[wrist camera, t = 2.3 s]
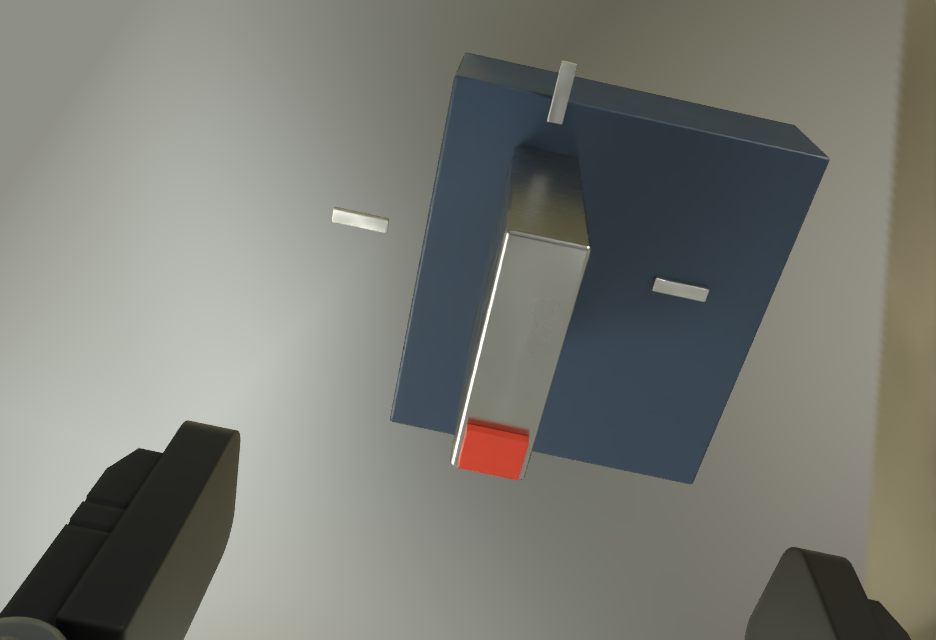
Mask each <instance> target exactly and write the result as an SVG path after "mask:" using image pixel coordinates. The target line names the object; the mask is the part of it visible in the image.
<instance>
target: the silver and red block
mask: <svg viewBox="0 0 936 640" xmlns="http://www.w3.org/2000/svg"><path fill="white" fill-rule="evenodd" d="M590 254H591V244H590V237H589V230H588V223H587V215H586V208H585V201H584V194H583V187H582V180H581V172H580V165H579V160H578V159H577V158H573V157H569V156H564V155H560V154H555V153H550V152H546V151H541V150H537V149H532V148H528V147H523V146H519V145H518V146H515V147H514V148H513V152H512V157H511V161H510V165H509V170H508V174H507V178H506V183H505V187H504V191H503V196H502V200H501V204H500V209H499V213H498V217H497V222H496V226H495V230H494V234H493V239H492V243H491V247H490V252H489V256H488V260H487V265H486V269H485V273H484V278H483V282H482V286H481V291H480V295H479V299H478V304H477V308H476V312H475V316H474V321H473V325H472V329H471V334H470V338H469V344H468V351H467V357H466V364H465V370H464V377H463V383H462V390H461V396H460V403H459V409H458V416H457V422H456V428H455V435H454V442H453V448H452V454H451V464H452V465H453V466H455V467H458V468H461V469H466V470H470V471H475V472H480V473H485V474H489V475H495V476H499V477H504V478H509V479H514V480H522V479H523V477H524V476H525V473H526V469H527V466H528V463H529V459H530V456H531V453H532V449H533V446H534V443H535V439H536V436H537V432H538V429H539V426H540V422H541V419H542V416H543V412H544V409H545V405H546V402H547V399H548V395H549V392H550V389H551V385H552V382H553V378H554V375H555V372H556V368H557V365H558V362H559V358H560V355H561V351H562V348H563V345H564V341H565V338H566V335H567V331H568V328H569V324H570V321H571V318H572V314H573V311H574V308H575V304H576V301H577V297H578V294H579V291H580V287H581V284H582V281H583V277H584V274H585V270H586V267H587V264H588V260H589V257H590Z"/></svg>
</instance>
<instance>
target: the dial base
mask: <svg viewBox="0 0 936 640" xmlns="http://www.w3.org/2000/svg"><path fill="white" fill-rule="evenodd" d="M576 68H577V63H573V62H569V61H565V60H562V62H561V65H560V69H559V73H557V72H552V71H547V70H543V69H538V68H534V67H529V66H525V65H520V64H515V63H511V62H507V61H502V60H498V59H493V58H489V57H484V56H480V55H475V54H471V53H465V55H464V57H463V59H462V61H461V64H460V66H459V68H458V70H457V73H456V75H455V77H454V82H453V87H452V92H451V98H450V103H449V108H448V114H447V119H446V124H445V130H444V135H443V140H442V145H441V151H440V157H439V161H438V167H437V172H436V177H435V183H434V188H433V193H432V199H431V204H430V209H429V215H428V220H427V225H426V230H425V236H424V241H423V246H422V252H421V257H420V262H419V268H418V273H417V278H416V284H415V289H414V294H413V299H412V305H411V310H410V315H409V321H408V326H407V332H406V337H405V342H404V347H403V354H402V358H401V363H400V368H399V375H398V379H397V384H396V390H395V395H394V400H393V406H392V411H391V416H390V420H391V421H392V422H397V423H401V424H406V425H411V426H415V427H420V428H425V429H429V430H434V431H439V432H444V433H448V434H453V435H455V428H456V422H457V416H458V409H459V403H460V396H461V390H462V383H463V377H464V370H465V364H466V357H467V351H468V344H469V338H470V334H471V329H472V325H473V321H474V316H475V312H476V308H477V304H478V299H479V295H480V291H481V286H482V282H483V278H484V273H485V269H486V265H487V260H488V256H489V252H490V247H491V243H492V239H493V234H494V230H495V226H496V222H497V217H498V213H499V209H500V204H501V200H502V196H503V191H504V187H505V183H506V178H507V174H508V170H509V165H510V161H511V157H512V152H513V148H514V147H515V146H518V145H519V146H523V147H528V148H532V149H537V150H541V151H546V152H550V153H555V154H560V155H564V156H569V157H573V158H577V159H578V160H579V165H580V172H581V180H582V187H583V194H584V201H585V208H586V215H587V223H588V230H589V237H590V244H591V254H590V257H589V260H588V264H587V267H586V270H585V274H584V277H583V281H582V284H581V287H580V291H579V294H578V297H577V301H576V304H575V308H574V311H573V314H572V318H571V321H570V324H569V328H568V331H567V335H566V338H565V341H564V345H563V348H562V351H561V355H560V358H559V362H558V365H557V368H556V372H555V375H554V378H553V382H552V385H551V389H550V392H549V395H548V399H547V402H546V405H545V409H544V412H543V416H542V419H541V422H540V426H539V429H538V432H537V436H536V439H535V443H534V446H533V449H532V451H535V452H539V453H544V454H549V455H554V456H558V457H563V458H568V459H572V460H577V461H582V462H587V463H591V464H597V465H602V466H606V467H611V468H615V469H620V470H625V471H630V472H634V473H639V474H644V475H649V476H654V477H658V478H663V479H668V480H673V481H677V482H682V483H687V484H692V483H693V481H694V479H695V477H696V474H697V472H698V469H699V467H700V465H701V462H702V460H703V458H704V455H705V453H706V451H707V448H708V446H709V443H710V441H711V439H712V436H713V434H714V432H715V429H716V427H717V425H718V422H719V420H720V417H721V415H722V413H723V410H724V408H725V406H726V403H727V401H728V399H729V396H730V394H731V392H732V389H733V387H734V384H735V382H736V380H737V377H738V375H739V372H740V370H741V368H742V365H743V363H744V361H745V358H746V356H747V354H748V351H749V349H750V347H751V344H752V342H753V340H754V337H755V335H756V332H757V330H758V328H759V325H760V323H761V321H762V318H763V316H764V313H765V311H766V309H767V307H768V304H769V302H770V299H771V297H772V295H773V292H774V290H775V287H776V285H777V283H778V281H779V278H780V276H781V273H782V271H783V269H784V266H785V264H786V262H787V259H788V257H789V255H790V252H791V250H792V247H793V245H794V243H795V240H796V238H797V235H798V233H799V231H800V229H801V226H802V224H803V221H804V219H805V217H806V214H807V212H808V210H809V207H810V205H811V202H812V200H813V198H814V195H815V193H816V191H817V188H818V186H819V184H820V181H821V179H822V176H823V174H824V171H825V169H826V167H827V165H828V162H829V158H828V157H827V156H826V155H825V154H824V153H823V152H822V151H821V150H820V149H819V148H818V147H817V146H816V145H815V144H814V143H812V141H811V140H810V139H809V138H808V137H806V136H805V135H804V134H803V133H802V132H801V131H800V130H799V129H798V128H797V127H796V126H795V125H791V124H786V123H781V122H777V121H773V120H768V119H763V118H759V117H755V116H750V115H745V114H741V113H737V112H732V111H728V110H723V109H718V108H714V107H710V106H705V105H701V104H696V103H692V102H687V101H683V100H678V99H673V98H669V97H665V96H660V95H655V94H651V93H646V92H642V91H637V90H633V89H628V88H624V87H619V86H615V85H610V84H606V83H602V82H597V81H593V80H588V79H583V78H579V77H575V72H576ZM332 222H336V223H340V224H345V225H350V226H355V227H359V228H364V229H368V230H373V231H378V232H382V233H386V232H387V228H388V222H389V218H384V217H379V216H374V215H370V214H365V213H361V212H356V211H351V210H347V209H342V208H338V207H334V209H333V216H332Z"/></svg>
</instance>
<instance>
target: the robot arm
mask: <svg viewBox="0 0 936 640" xmlns="http://www.w3.org/2000/svg"><path fill="white" fill-rule="evenodd" d="M239 451H240V433H239V431H237V430H231V429H227V428H222V427H217V426H212V425H207V424H202V423H198V422H192V421H185V422H184V423H183V424H182V425H181V427H180V428H179V430H178V431H177V433H176V434H175V436H174V437H173V439H172V440H171V442H170V443H169V445H168V446H167V448H166V449H165V451H164V452H163V453H160V452H155V451H150V450H145V449H140V448H139V449H137V450H135V451H134V452H132V453H131V454H129V455H127V456H126V457H124V458H123V459H121V460H120V461H118V462H116V463H115V464H113V465H112V466H110V467H108V468H107V469H106V470H105V472H104V473H103V474H102V476H101V477H100V478H99V480H98V481H97V483H96V484H95V485H94V487H93V488H92V489H91V491H90V492H89V494H88V495H87V498H86V501H85V502H82V503H81V504H80V506H79V507H78V508H77V510H76V511H75V513H74V514H73V515H72V517H71V518H70V522H69V524H68V525H67V524H66V525H65V526H64V528H63V529H62V530H61V532H60V533H59V534H58V536H57V537H56V538H55V540H54V541H53V543H52V544H51V545H50V547H49V548H48V550H47V551H46V552H45V554H44V555H43V556H42V558H41V559H40V560H39V562H38V563H37V564H36V566H35V567H34V568H33V570H32V571H31V573H30V574H29V575H28V577H27V578H26V580H25V581H24V582H23V583H22V585H21V586H20V588H19V589H18V590H17V592H16V593H15V594H14V596H13V597H12V599H11V600H10V601H9V603H8V604H7V605H6V607H5V608H4V609H3V611H2V612H1V613H0V640H184V637H185V635H186V633H187V631H188V629H189V627H190V625H191V622H192V620H193V618H194V616H195V614H196V612H197V610H198V607H199V605H200V603H201V601H202V599H203V597H204V595H205V592H206V590H207V588H208V586H209V584H210V581H211V579H212V577H213V575H214V573H215V571H216V569H217V566H218V564H219V562H220V560H221V558H222V555H223V553H224V551H225V548H226V545H227V542H228V539H229V535H230V531H231V527H232V523H233V517H234V510H235V498H236V486H237V475H238V463H239ZM745 640H911V639H910V637H909V635H908V633H907V632H906V631H905V630H904V629H903V628H902V627H901V626H900V624H899V623H898V622H897V621H896V620H895V619H894V618H893V617H892V616H891V614H890V613H889V612H888V611H887V610H886V609H885V608H884V607H883V605H882V604H881V603H880V602H879V601H874V600H870V599H868V598H867V596H866V594H865V592H864V590H863V587H862V585H861V583H860V581H859V579H858V577H857V575H856V572H855V571H854V568H853V567H852V564H851V563H850V562H849V561H848V560H847V559H846V558H843V557H840V556H835V555H830V554H825V553H820V552H816V551H810V550H806V549H801V548H796V547H791V548H789V549H788V550H786V551H785V553H784V554H783V555H782V557H781V559H780V561H779V563H778V565H777V567H776V568H775V571H774V572H773V574H772V576H771V578H770V580H769V582H768V584H767V586H766V588H765V590H764V592H763V594H762V596H761V598H760V599H759V601H758V603H757V605H756V607H755V609H754V611H753V613H752V615H751V617H750V620H749V622H748V625H747V629H746V635H745Z"/></svg>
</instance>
